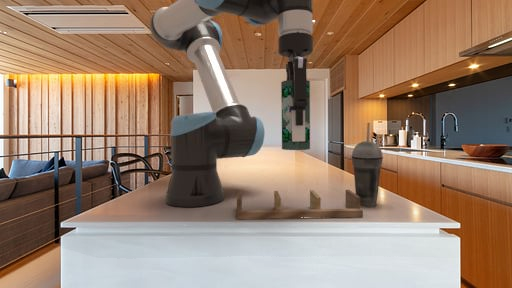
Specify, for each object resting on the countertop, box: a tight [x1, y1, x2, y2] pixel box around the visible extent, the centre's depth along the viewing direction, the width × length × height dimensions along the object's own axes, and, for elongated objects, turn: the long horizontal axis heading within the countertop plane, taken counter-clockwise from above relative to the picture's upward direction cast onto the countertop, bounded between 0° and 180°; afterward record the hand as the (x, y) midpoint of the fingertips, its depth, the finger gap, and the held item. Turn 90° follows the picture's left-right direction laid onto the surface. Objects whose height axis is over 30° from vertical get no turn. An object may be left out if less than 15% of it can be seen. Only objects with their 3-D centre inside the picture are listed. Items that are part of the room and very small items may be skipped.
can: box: [280, 79, 311, 151], centre depth 68 cm, size 6×6×15 cm
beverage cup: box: [351, 122, 384, 208], centre depth 74 cm, size 7×7×20 cm
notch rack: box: [236, 189, 364, 220], centre depth 68 cm, size 27×9×4 cm, turn 91°
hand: (296, 140), depth 68 cm, fingers closed on can, 6 cm apart
